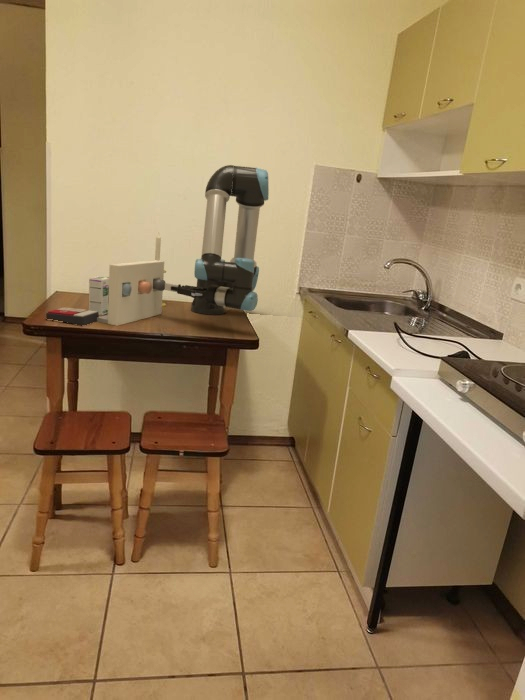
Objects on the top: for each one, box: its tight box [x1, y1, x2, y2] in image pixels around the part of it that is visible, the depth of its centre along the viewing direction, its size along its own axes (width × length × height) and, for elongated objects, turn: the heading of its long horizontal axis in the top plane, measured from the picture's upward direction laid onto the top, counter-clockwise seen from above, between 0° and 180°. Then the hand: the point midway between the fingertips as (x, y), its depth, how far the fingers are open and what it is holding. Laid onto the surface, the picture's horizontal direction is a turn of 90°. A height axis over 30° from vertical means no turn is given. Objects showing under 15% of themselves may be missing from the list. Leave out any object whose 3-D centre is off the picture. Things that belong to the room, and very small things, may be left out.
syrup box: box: [88, 275, 109, 317], centre depth 203 cm, size 6×6×14 cm
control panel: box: [96, 259, 165, 327], centre depth 201 cm, size 30×9×22 cm, turn 158°
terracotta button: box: [138, 281, 152, 294], centre depth 199 cm, size 4×4×4 cm
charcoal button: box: [153, 279, 166, 291], centre depth 208 cm, size 4×4×4 cm
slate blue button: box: [122, 283, 131, 296], centre depth 191 cm, size 4×4×4 cm
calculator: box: [45, 306, 100, 326], centre depth 190 cm, size 11×4×15 cm
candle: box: [154, 232, 167, 307], centre depth 230 cm, size 10×10×32 cm
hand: (165, 286), depth 207 cm, fingers closed
